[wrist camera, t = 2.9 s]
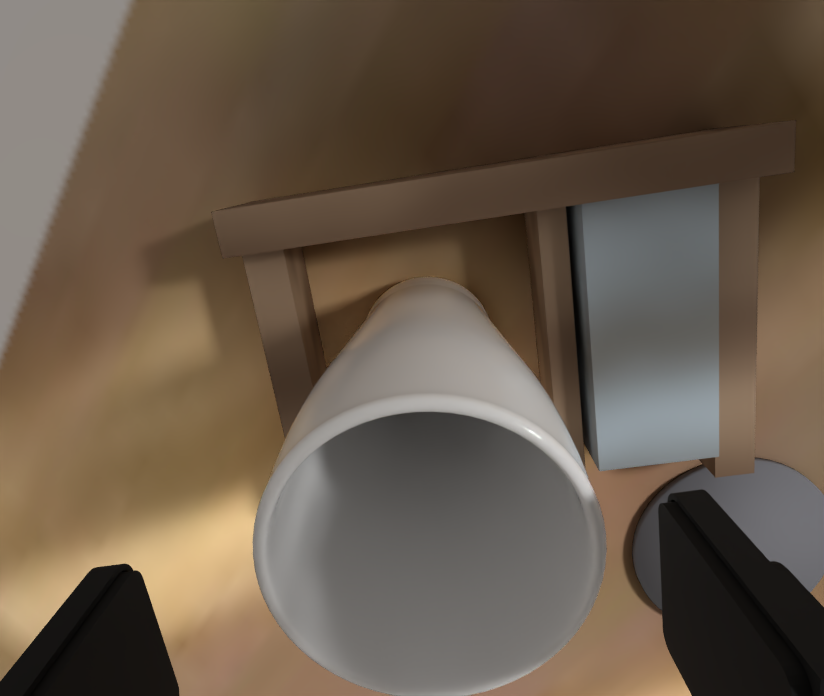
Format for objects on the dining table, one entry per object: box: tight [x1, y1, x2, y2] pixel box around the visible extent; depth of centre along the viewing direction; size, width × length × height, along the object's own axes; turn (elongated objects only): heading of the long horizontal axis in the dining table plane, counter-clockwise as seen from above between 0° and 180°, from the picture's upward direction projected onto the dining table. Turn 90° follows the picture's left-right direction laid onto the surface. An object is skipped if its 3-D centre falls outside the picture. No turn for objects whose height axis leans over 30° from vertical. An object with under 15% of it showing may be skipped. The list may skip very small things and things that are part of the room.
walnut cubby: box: [211, 120, 796, 478], centre depth 23 cm, size 13×18×5 cm
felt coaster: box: [632, 458, 824, 610], centre depth 28 cm, size 9×9×1 cm
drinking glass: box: [253, 277, 607, 696], centre depth 18 cm, size 7×7×15 cm
